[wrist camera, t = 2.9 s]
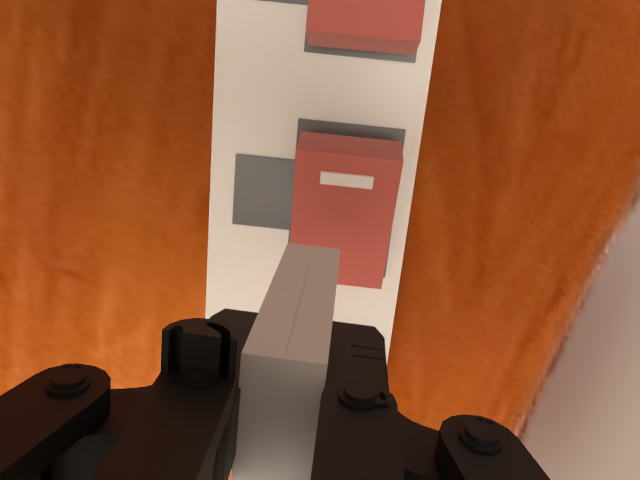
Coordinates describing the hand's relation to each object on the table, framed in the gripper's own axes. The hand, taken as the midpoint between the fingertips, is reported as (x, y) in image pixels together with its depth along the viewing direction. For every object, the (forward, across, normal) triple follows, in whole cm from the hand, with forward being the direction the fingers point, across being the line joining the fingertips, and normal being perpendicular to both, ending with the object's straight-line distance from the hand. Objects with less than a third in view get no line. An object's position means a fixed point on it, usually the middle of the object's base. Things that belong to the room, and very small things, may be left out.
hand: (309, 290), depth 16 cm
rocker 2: (+8, +1, 0) cm, 8 cm away
